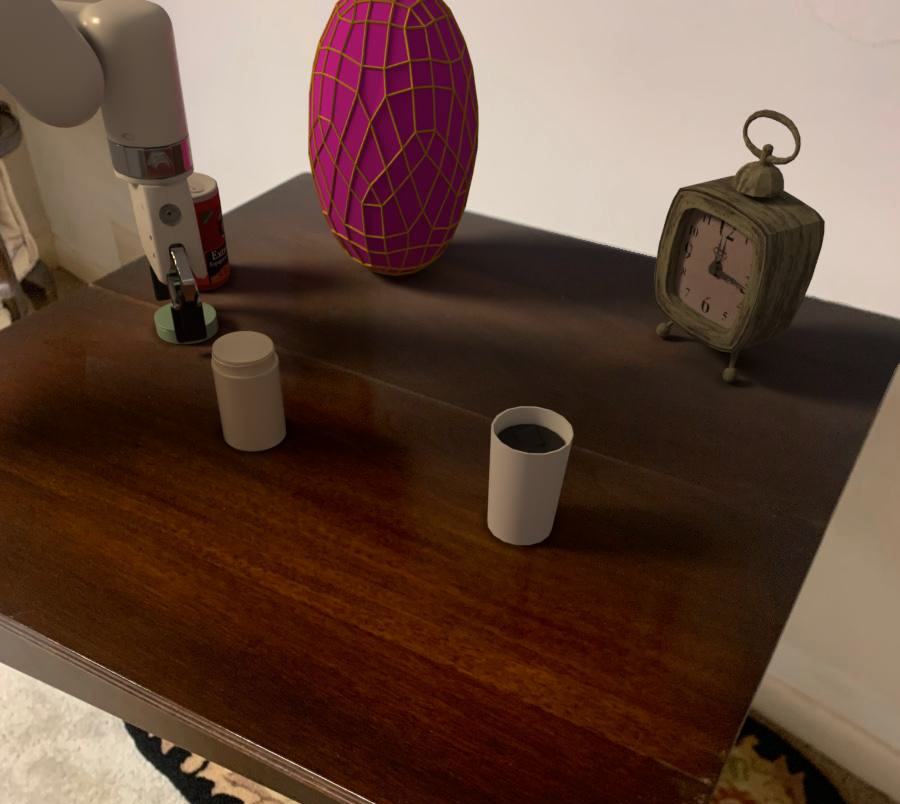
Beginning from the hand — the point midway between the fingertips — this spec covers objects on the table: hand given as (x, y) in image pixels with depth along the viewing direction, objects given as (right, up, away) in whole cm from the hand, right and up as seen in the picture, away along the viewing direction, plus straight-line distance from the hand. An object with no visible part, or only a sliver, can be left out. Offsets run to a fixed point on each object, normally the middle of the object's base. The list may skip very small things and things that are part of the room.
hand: (181, 318), depth 97 cm
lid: (0, 0, 0) cm, 1 cm away
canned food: (-1, +8, +10) cm, 12 cm away
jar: (+11, -15, -12) cm, 22 cm away
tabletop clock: (+59, -3, +3) cm, 59 cm away
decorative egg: (+23, +11, +14) cm, 29 cm away
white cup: (+36, -24, -19) cm, 47 cm away
